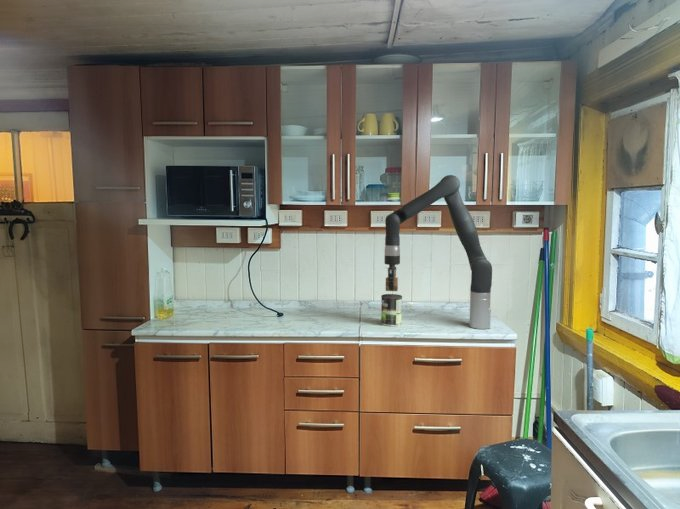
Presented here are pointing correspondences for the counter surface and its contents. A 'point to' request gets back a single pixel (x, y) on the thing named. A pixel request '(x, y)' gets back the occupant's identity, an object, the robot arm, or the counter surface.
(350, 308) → the counter surface
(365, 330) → the counter surface
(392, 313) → the coffee can
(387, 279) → the walnut block
